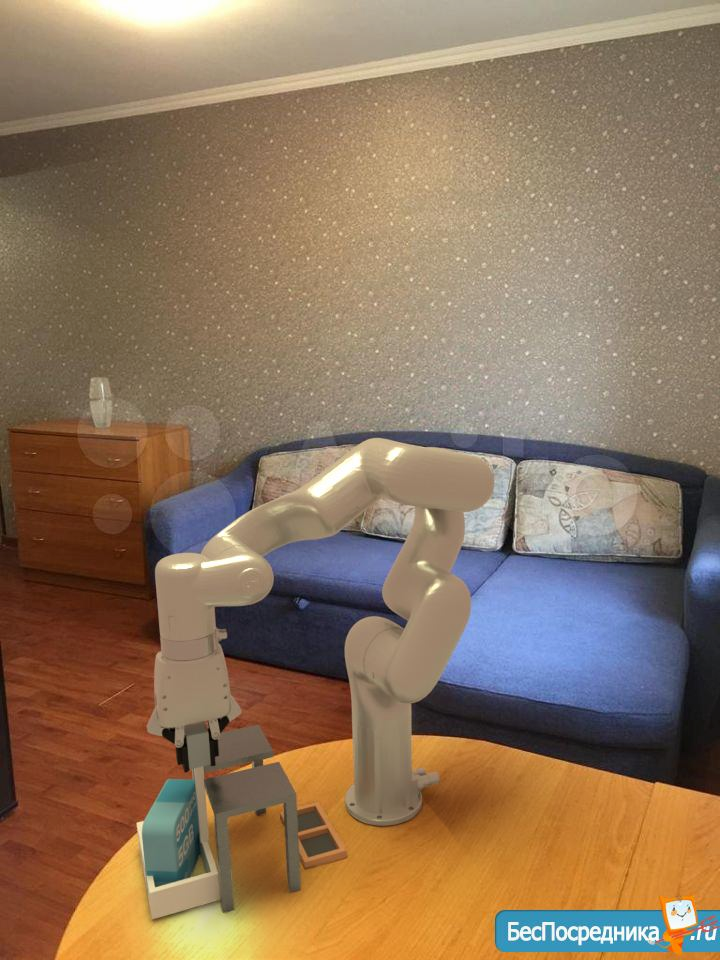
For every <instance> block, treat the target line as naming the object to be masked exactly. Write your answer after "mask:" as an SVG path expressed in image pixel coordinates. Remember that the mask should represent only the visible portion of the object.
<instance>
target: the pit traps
mask: <svg viewBox="0 0 720 960" xmlns="http://www.w3.org/2000/svg"><path fill="white" fill-rule="evenodd" d="M297 818H298V839H299V859H300V863H301V865H302V866H303V868H304V870H308V869H312V868H315V867H319V866H323V865H325V864H326V865H327V864H330V863H333V862H336V861H339V860H343V859H346V858H348V854H347V853H348V852H347V848H346V846H345V845H344V843H343V841H342V839H341V838H340V836H339V834H338V833H337V831H336V829H335V828H334V826H333V823H331V821H330V819H329V817H328V816H327V814H326V812H325V811H324V809H323V807H322V805H321V804H320V802H319V801H316V802H312V803H308V804H304V805H301V806H297ZM279 819H280V821H281V824H282V825H283V827H284V828H285V826H284V810H281V811H279Z"/></svg>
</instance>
